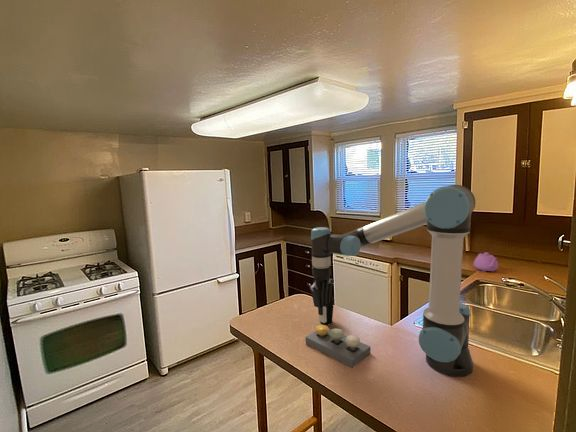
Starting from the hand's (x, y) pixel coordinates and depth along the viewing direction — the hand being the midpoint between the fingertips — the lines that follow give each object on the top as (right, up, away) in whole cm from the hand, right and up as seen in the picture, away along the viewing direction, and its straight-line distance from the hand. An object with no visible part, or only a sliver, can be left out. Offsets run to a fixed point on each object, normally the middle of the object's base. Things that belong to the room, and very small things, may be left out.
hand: (322, 321), depth 127 cm
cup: (+4, -7, +18) cm, 19 cm away
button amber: (0, -7, +1) cm, 7 cm away
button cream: (+10, -7, -10) cm, 16 cm away
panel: (+5, -10, -4) cm, 11 cm away
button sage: (+5, -7, -4) cm, 9 cm away
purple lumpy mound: (+122, +6, +84) cm, 148 cm away
